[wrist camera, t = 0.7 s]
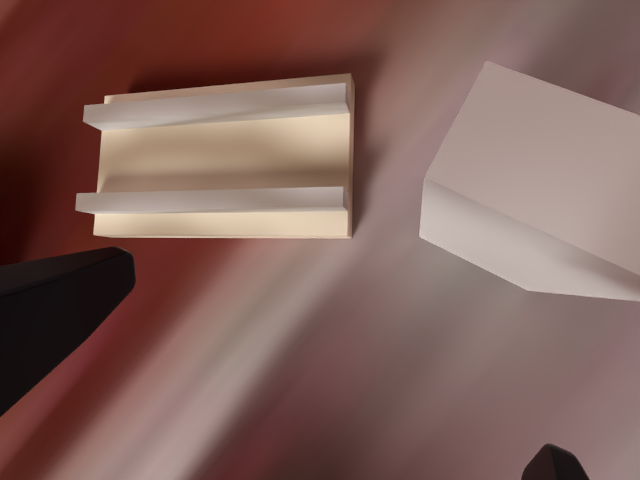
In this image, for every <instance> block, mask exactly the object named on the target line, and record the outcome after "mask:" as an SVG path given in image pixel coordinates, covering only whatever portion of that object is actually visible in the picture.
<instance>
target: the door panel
mask: <svg viewBox="0 0 640 480" xmlns="http://www.w3.org/2000/svg"><path fill="white" fill-rule="evenodd" d="M419 237H420V238H422V239H424V240H426V241H428V242H430V243H432V244H434V245H436V246H438V247H440V248H442V249H444V250H446V251H448V252H450V253H452V254H454V255H456V256H458V257H461V258H463V259H465V260H467V261H469V262H471V263H473V264H475V265H477V266H479V267H481V268H483V269H485V270H487V271H489V272H491V273H493V274H495V275H497V276H499V277H501V278H503V279H505V280H507V281H509V282H511V283H513V284H515V285H517V286H519V287H521V288H523V289H525V290H527V291H536V292H546V293H557V294H567V295H578V296H588V297H598V298H609V299H619V300H630V301H640V115H637V114H634V113H632V112H629V111H626V110H623V109H621V108H618V107H615V106H612V105H609V104H607V103H604V102H601V101H598V100H595V99H593V98H590V97H587V96H584V95H582V94H579V93H576V92H573V91H570V90H568V89H565V88H562V87H559V86H556V85H554V84H551V83H548V82H545V81H542V80H540V79H537V78H534V77H531V76H529V75H526V74H523V73H520V72H517V71H515V70H512V69H509V68H506V67H503V66H501V65H498V64H495V63H492V62H489V61H487V60H486V62H485V64H484V66H483V68H482V70H481V71H480V73H479V75H478V77H477V79H476V81H475V83H474V85H473V86H472V88H471V90H470V92H469V94H468V96H467V98H466V100H465V101H464V103H463V105H462V107H461V109H460V111H459V113H458V115H457V117H456V118H455V120H454V122H453V124H452V126H451V128H450V130H449V132H448V133H447V135H446V137H445V139H444V141H443V143H442V145H441V147H440V148H439V150H438V152H437V154H436V156H435V158H434V160H433V162H432V163H431V165H430V167H429V169H428V171H427V173H426V175H425V177H424V184H423V196H422V208H421V220H420V232H419Z"/></svg>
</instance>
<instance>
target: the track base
mask: <svg viewBox="0 0 640 480" xmlns="http://www.w3.org/2000/svg"><path fill="white" fill-rule="evenodd" d="M354 103H355V85H354V82H353V78H352V75H351V73H347V74H336V75H326V76H315V77H304V78H293V79H283V80H272V81H261V82H250V83H240V84H229V85H218V86H207V87H196V88H186V89H175V90H164V91H153V92H143V93H132V94H121V95H110V96H105V101H104V104H97V105H85V106H84V117H83V122H85V123H87V124H89V125H91V126H93V127H96V128H98V129H100V130H102V138H101V150H100V162H99V174H98V187H97V193H77V198H76V209H75V210H77V211H82V212H87V213H92V214H95V223H94V235H98V236H105V237H145V238H349V239H352V198H353V151H354Z"/></svg>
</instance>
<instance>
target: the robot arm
mask: <svg viewBox="0 0 640 480" xmlns="http://www.w3.org/2000/svg"><path fill="white" fill-rule="evenodd" d="M135 282H136V276H135V264H134V256H133V255H132V253H131V252H129V251H127V250H124V249H122V248H120V247H116V246H114V247H107V248H102V249H96V250H90V251H84V252H79V253H73V254H67V255H61V256H55V257H50V258H44V259H38V260H32V261H27V262H21V263H15V264H9V265H4V266H0V417H1V416H2V415H3V414H4V413H6V412H7V411H8V410H9V409H10V408H11V407H12V406H13V405H14V404H16V403H17V402H18V401H19V400H20V399H21V398H22V397H23V396H24V395H26V394H27V393H28V392H29V391H30V390H31V389H32V388H33V387H34V386H36V385H37V384H38V383H39V382H40V381H41V380H42V379H43V378H44V377H46V376H47V375H48V374H49V373H50V372H51V371H52V370H53V369H55V368H56V367H57V366H58V365H59V364H60V363H61V362H62V361H63V360H65V359H66V358H67V357H68V356H69V355H70V354H71V353H72V352H73V351H75V350H76V349H77V348H78V347H79V346H80V345H81V344H82V343H83V342H84V341H85V340H86V339H87V338H88V337H89V336H90V335H91V334H92V333H93V332H94V331H95V330H96V329H97V328H98V327H99V326H100V324H101V323H102V322H103V321H104V320H105V319H106V318H107V317H108V316H109V315H110V314H111V313H112V311H113V310H114V309H115V308H116V307H117V306H118V305H119V304H120V303H121V302H122V301H123V300H124V299H125V297H126V296H127V295H128V294H129V293H130V292H131V291H132V289H133V288H134V286H135ZM521 480H590V479H589V477H588V476H587V474H586V472H585V471H584V469H583V467H582V466H581V464H580V462H579V461H578V459H577V458H576V457H575V456H574V455H573V454H572V453H571V452H569V451H566V450H564V449H562V448H560V447H558V446H555V445H553V444H546V445H544V446H543V447H542V448H541V449H540V451H539V452H538V453H537V454H536V455H535V457H534V458H533V459H532V460H531V461H530V463H529V464H528V465H527V466H526V468H525V470H524V472H523V474H522V478H521Z"/></svg>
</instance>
